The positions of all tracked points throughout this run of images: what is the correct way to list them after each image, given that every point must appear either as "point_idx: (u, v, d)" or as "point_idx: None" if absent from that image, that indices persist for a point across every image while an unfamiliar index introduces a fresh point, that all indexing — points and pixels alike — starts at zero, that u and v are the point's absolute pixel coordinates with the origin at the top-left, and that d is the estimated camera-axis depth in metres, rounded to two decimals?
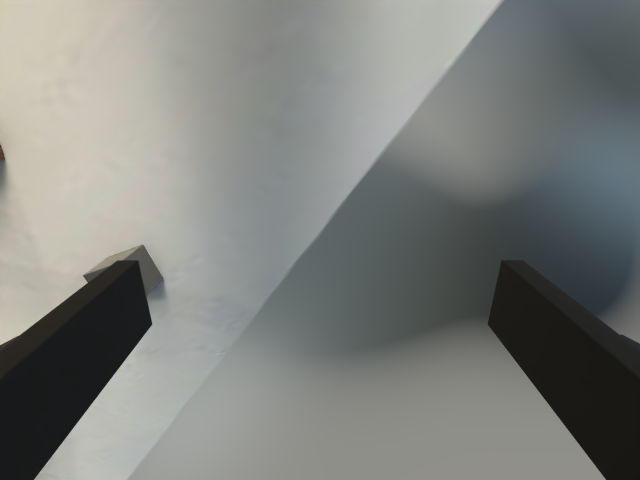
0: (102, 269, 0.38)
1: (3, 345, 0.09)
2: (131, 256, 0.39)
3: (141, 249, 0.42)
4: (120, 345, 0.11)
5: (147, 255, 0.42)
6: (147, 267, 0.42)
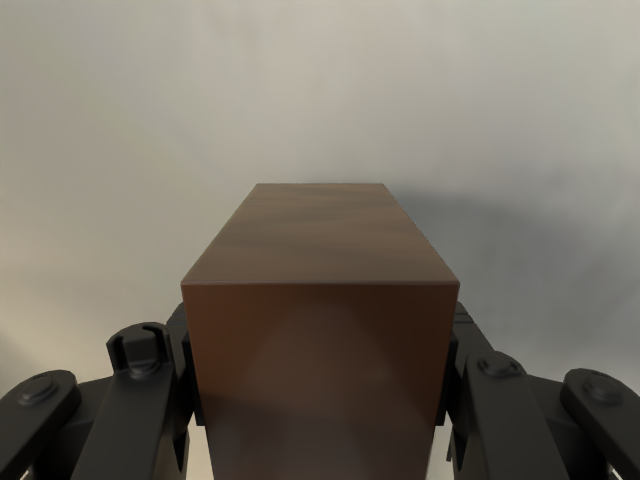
0: None
1: None
2: None
3: None
4: None
5: None
6: None
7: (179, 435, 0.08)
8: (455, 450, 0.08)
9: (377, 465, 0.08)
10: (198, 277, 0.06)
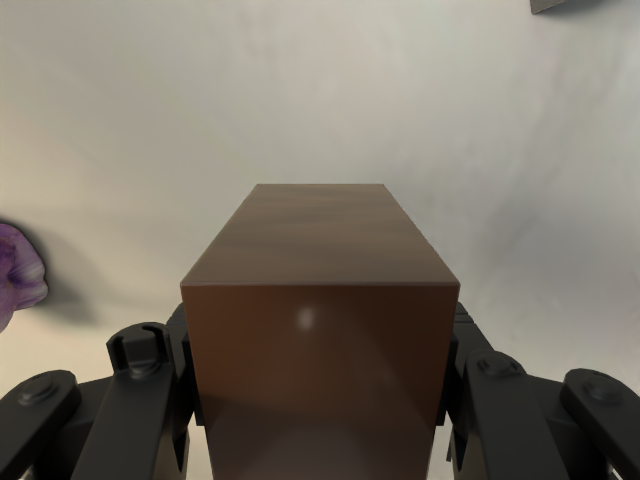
0: None
1: None
2: None
3: None
4: None
5: None
6: None
7: (179, 435, 0.08)
8: (455, 450, 0.08)
9: (377, 467, 0.08)
10: (198, 278, 0.06)
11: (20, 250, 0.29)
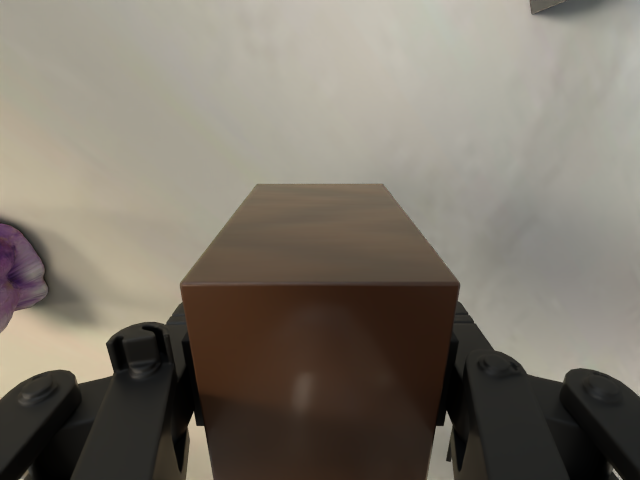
0: None
1: None
2: None
3: None
4: None
5: None
6: None
7: (179, 435, 0.08)
8: (455, 450, 0.08)
9: (377, 467, 0.08)
10: (197, 278, 0.06)
11: (20, 250, 0.29)
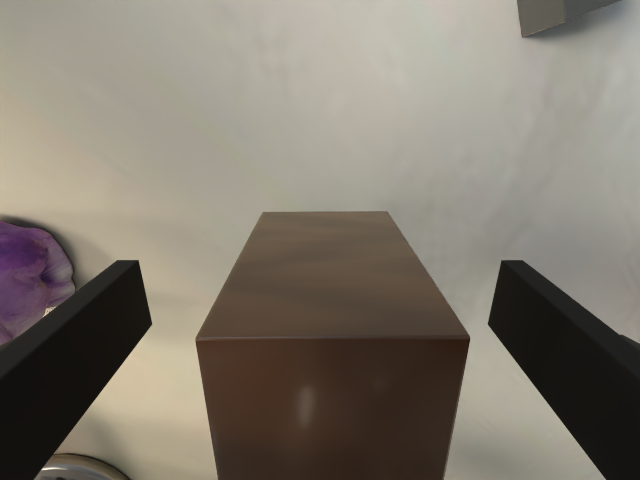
0: None
1: (3, 345, 0.09)
2: None
3: None
4: (120, 345, 0.11)
5: None
6: None
7: None
8: None
9: None
10: (212, 332, 0.06)
11: (51, 252, 0.31)
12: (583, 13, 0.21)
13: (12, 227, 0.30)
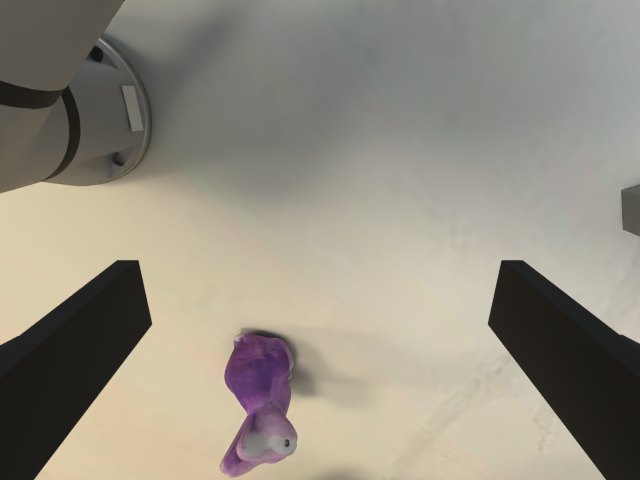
0: None
1: (3, 345, 0.09)
2: None
3: (629, 190, 0.38)
4: (120, 345, 0.11)
5: (637, 186, 0.38)
6: None
7: None
8: None
9: None
10: None
11: None
12: None
13: (268, 341, 0.44)
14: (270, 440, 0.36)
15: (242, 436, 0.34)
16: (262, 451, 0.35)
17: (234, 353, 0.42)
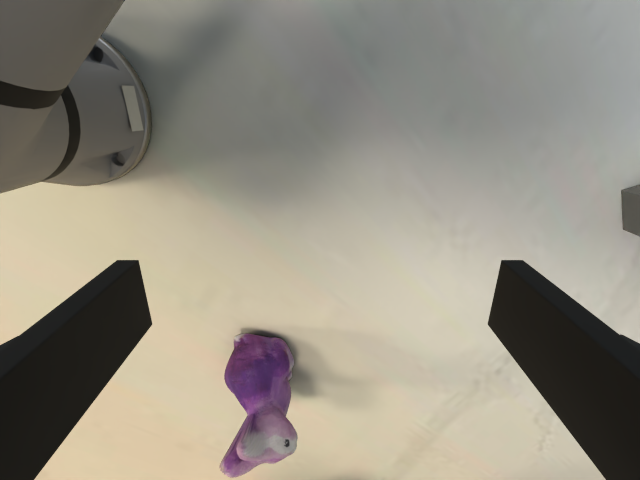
0: None
1: (3, 345, 0.09)
2: None
3: (629, 190, 0.38)
4: (120, 345, 0.11)
5: (637, 186, 0.38)
6: None
7: None
8: None
9: None
10: None
11: None
12: None
13: (268, 341, 0.44)
14: (270, 440, 0.36)
15: (242, 436, 0.34)
16: (262, 451, 0.35)
17: (234, 353, 0.42)
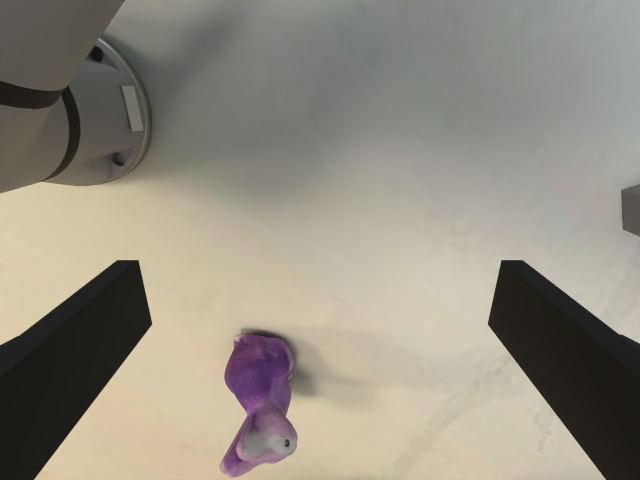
0: None
1: (3, 345, 0.09)
2: None
3: (629, 190, 0.38)
4: (120, 345, 0.11)
5: (637, 186, 0.38)
6: None
7: None
8: None
9: None
10: None
11: None
12: None
13: (268, 341, 0.44)
14: (270, 440, 0.36)
15: (242, 436, 0.34)
16: (262, 451, 0.35)
17: (234, 353, 0.42)
